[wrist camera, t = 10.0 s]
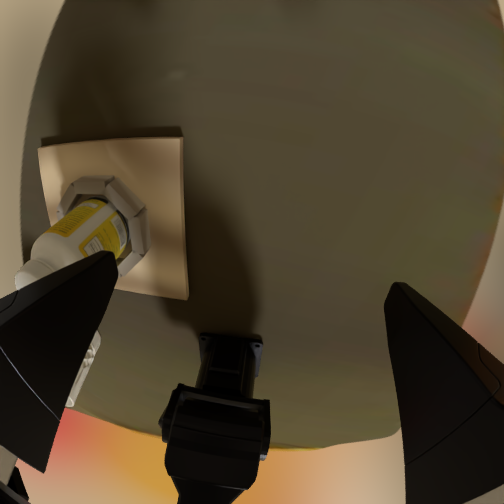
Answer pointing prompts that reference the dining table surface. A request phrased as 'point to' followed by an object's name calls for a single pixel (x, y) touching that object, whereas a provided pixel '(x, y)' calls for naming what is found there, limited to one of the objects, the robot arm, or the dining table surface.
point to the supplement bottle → (76, 239)
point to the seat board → (149, 185)
